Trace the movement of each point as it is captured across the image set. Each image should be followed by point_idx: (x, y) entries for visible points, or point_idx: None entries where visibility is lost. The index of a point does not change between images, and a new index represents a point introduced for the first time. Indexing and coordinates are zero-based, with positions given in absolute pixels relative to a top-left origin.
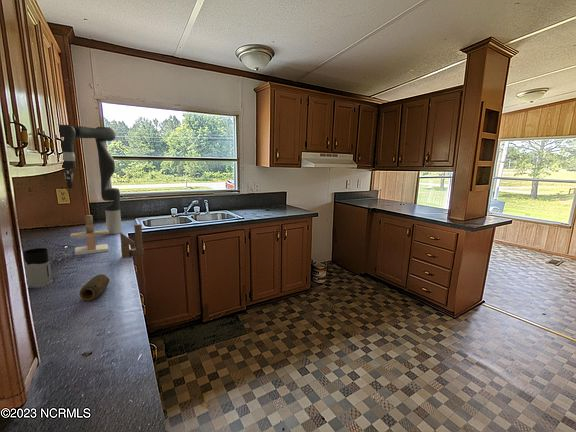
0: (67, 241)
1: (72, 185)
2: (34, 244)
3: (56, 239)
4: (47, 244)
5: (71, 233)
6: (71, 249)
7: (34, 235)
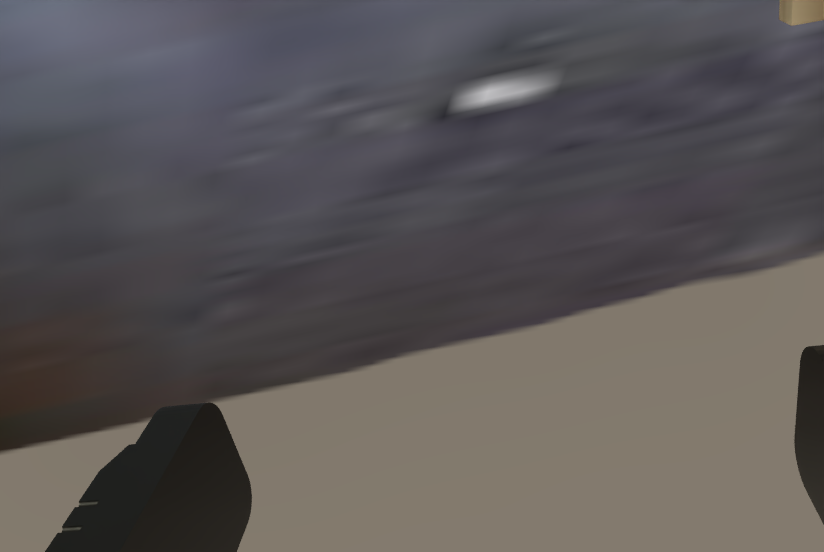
0: (297, 128)
1: (185, 441)
2: (347, 331)
3: (208, 229)
4: (371, 252)
5: (812, 14)
6: (625, 22)
7: (63, 393)
